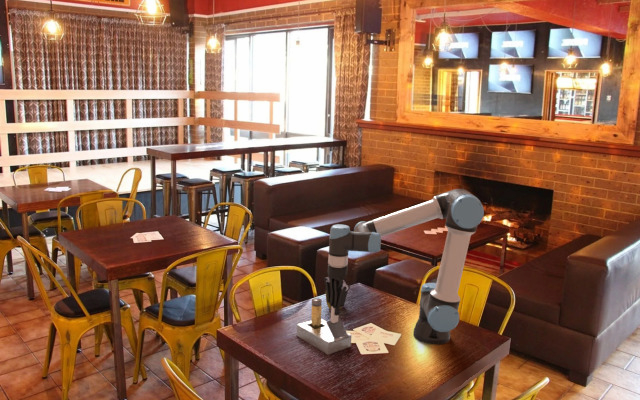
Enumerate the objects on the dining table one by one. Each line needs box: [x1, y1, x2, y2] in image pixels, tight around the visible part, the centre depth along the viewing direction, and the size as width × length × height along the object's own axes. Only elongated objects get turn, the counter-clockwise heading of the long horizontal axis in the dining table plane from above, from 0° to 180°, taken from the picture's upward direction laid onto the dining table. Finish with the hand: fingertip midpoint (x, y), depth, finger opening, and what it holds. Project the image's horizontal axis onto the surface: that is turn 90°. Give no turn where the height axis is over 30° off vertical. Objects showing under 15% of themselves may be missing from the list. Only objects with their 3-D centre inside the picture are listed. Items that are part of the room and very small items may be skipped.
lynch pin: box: [310, 297, 323, 329], centre depth 232 cm, size 4×4×16 cm
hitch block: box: [296, 318, 353, 355], centre depth 230 cm, size 20×12×5 cm, turn 40°
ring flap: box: [326, 317, 349, 342], centre depth 223 cm, size 9×7×1 cm
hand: (334, 321), depth 223 cm, fingers closed
